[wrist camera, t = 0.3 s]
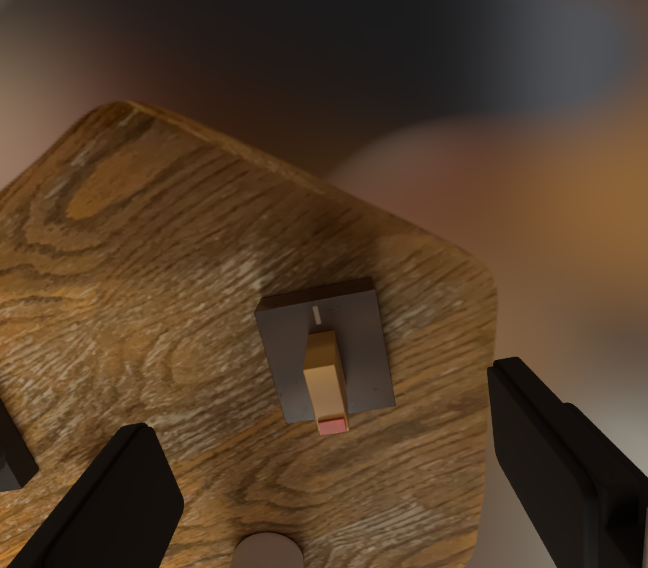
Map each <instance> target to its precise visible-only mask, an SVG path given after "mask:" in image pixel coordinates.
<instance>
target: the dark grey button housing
mask: <svg viewBox="0 0 648 568" xmlns="http://www.w3.org/2000/svg"><path fill="white" fill-rule="evenodd" d="M38 471H39V469H38V467H37V465H36V463H35V462H34V460H33V458H32V456H31V454H30V453H29V451H28V449H27V447H26V445H25V444H24V442H23V440H22V438H21V436H20V435H19V433H18V431H17V429H16V427H15V426H14V424H13V422H12V420H11V418H10V416H9V415H8V413H7V411H6V409H5V407H4V406H3V404H2V402H1V400H0V492H5V491H11V490H18V489H22V488H23V487H24V486H25V485H26V484H27V483H28V482H29V481H30V480H31V479H32V477H33V476H34V475H35V474H36V473H37V472H38Z"/></svg>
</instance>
